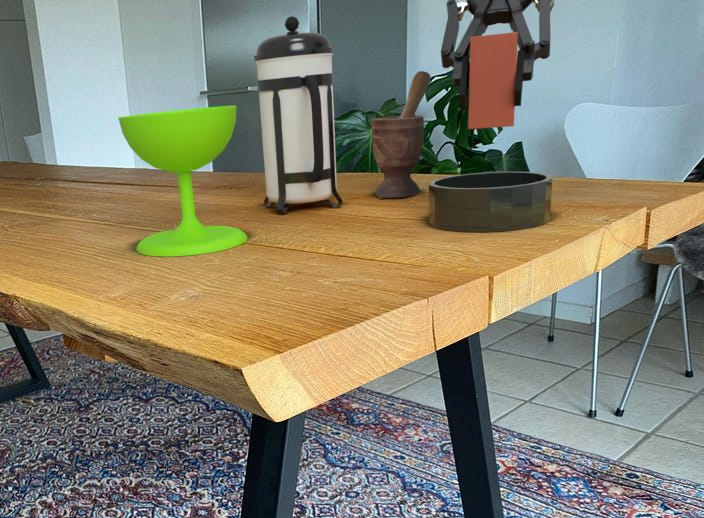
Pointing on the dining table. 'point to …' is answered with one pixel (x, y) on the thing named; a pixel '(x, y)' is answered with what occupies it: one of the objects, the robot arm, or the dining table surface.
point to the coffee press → (297, 118)
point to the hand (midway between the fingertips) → (489, 100)
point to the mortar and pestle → (400, 143)
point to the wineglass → (183, 171)
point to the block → (492, 80)
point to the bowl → (490, 201)
